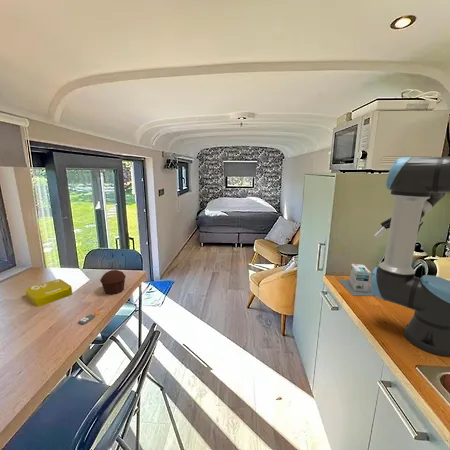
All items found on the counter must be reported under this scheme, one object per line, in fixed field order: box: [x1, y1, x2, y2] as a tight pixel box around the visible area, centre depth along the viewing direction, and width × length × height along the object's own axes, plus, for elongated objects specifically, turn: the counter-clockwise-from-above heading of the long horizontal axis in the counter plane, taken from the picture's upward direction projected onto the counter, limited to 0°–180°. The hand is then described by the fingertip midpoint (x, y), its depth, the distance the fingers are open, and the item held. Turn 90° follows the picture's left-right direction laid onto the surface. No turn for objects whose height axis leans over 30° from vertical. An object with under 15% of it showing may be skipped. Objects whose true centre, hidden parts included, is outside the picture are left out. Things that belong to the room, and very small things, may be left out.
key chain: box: [77, 309, 106, 326], centre depth 106 cm, size 13×4×2 cm, turn 161°
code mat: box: [337, 278, 376, 297], centre depth 134 cm, size 18×14×1 cm
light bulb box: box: [349, 263, 372, 292], centre depth 133 cm, size 11×7×11 cm, turn 168°
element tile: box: [25, 278, 73, 307], centre depth 121 cm, size 15×15×5 cm
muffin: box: [99, 269, 127, 296], centre depth 126 cm, size 12×11×10 cm
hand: (385, 241), depth 127 cm, fingers open, 13 cm apart
